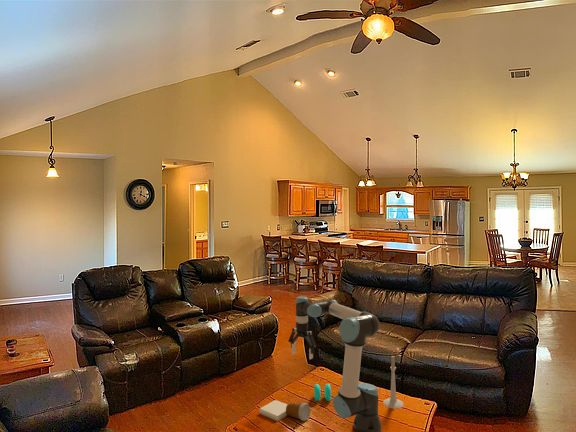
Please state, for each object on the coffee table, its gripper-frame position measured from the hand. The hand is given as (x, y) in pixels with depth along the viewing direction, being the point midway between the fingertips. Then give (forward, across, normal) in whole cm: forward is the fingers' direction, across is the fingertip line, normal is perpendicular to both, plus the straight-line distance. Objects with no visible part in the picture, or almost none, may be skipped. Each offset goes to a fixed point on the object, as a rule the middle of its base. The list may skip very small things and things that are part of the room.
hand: (302, 356), depth 253 cm
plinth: (+29, +4, +20) cm, 35 cm away
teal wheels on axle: (+29, -8, -10) cm, 32 cm away
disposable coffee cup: (+26, -3, +17) cm, 31 cm away
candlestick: (+29, -45, -32) cm, 62 cm away
